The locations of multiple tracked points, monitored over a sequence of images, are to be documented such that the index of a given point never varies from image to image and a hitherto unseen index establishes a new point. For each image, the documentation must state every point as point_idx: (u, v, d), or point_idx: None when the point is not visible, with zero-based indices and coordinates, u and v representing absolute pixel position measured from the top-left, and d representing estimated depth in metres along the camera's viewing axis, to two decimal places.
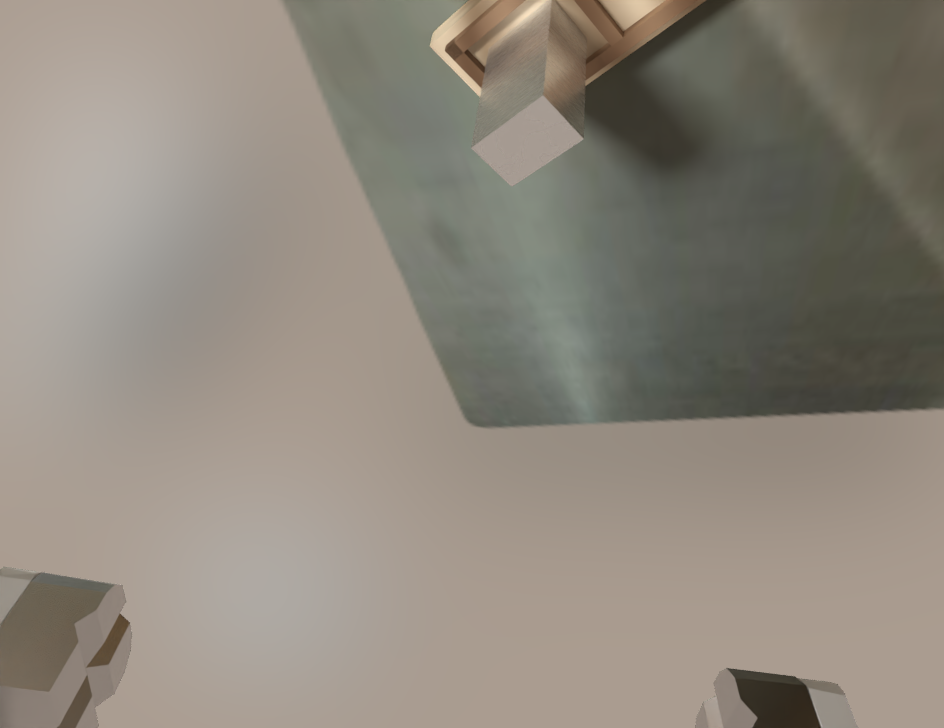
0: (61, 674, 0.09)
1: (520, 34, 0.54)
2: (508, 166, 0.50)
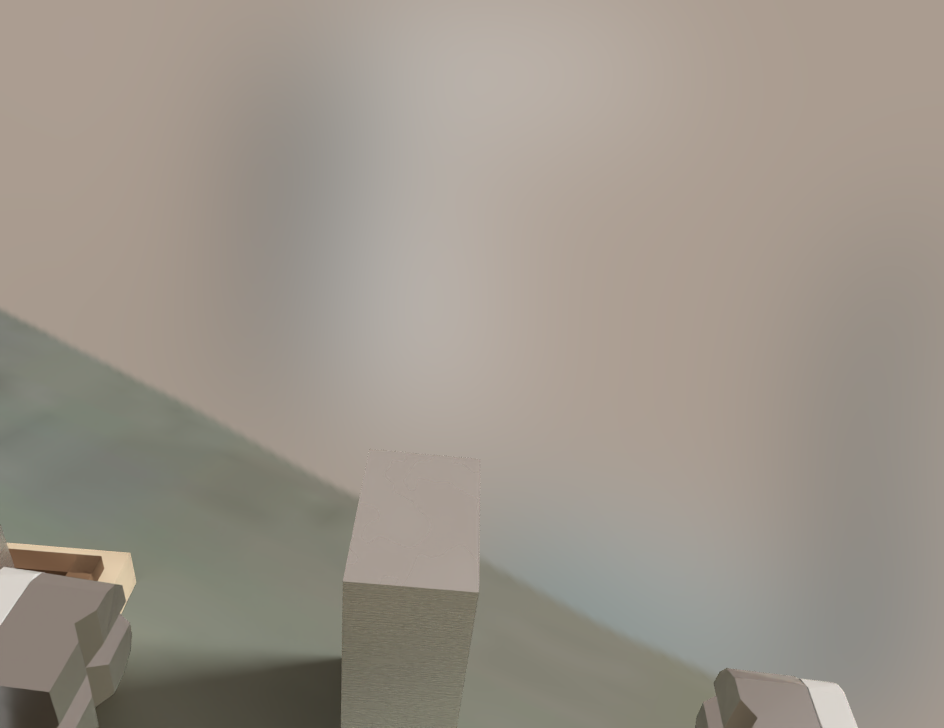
0: (61, 674, 0.09)
1: None
2: None
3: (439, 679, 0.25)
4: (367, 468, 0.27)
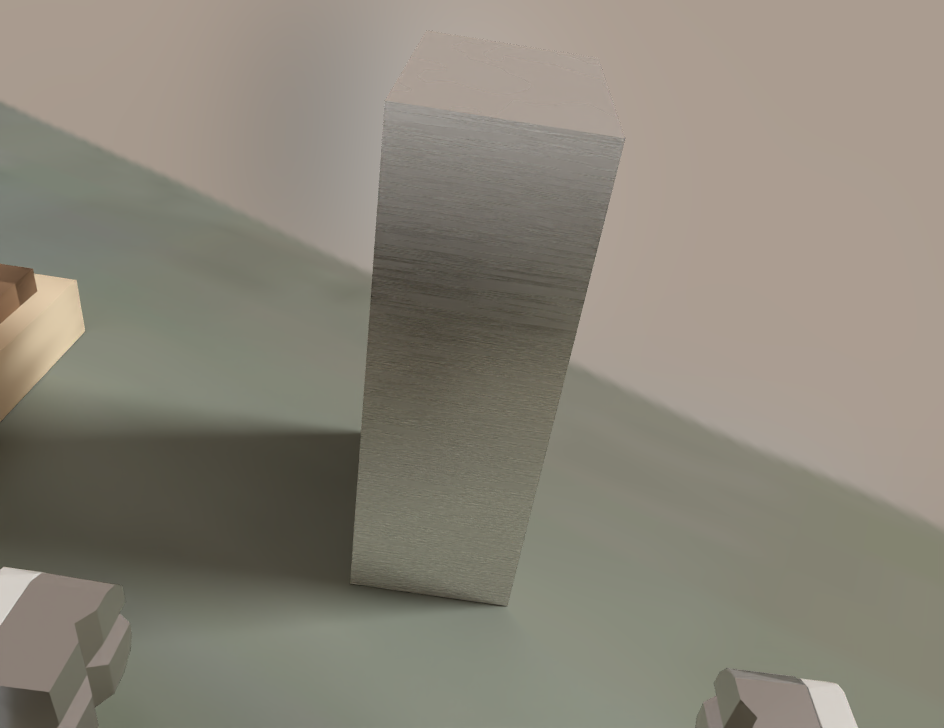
0: (61, 674, 0.09)
1: None
2: None
3: (528, 351, 0.15)
4: (424, 40, 0.17)
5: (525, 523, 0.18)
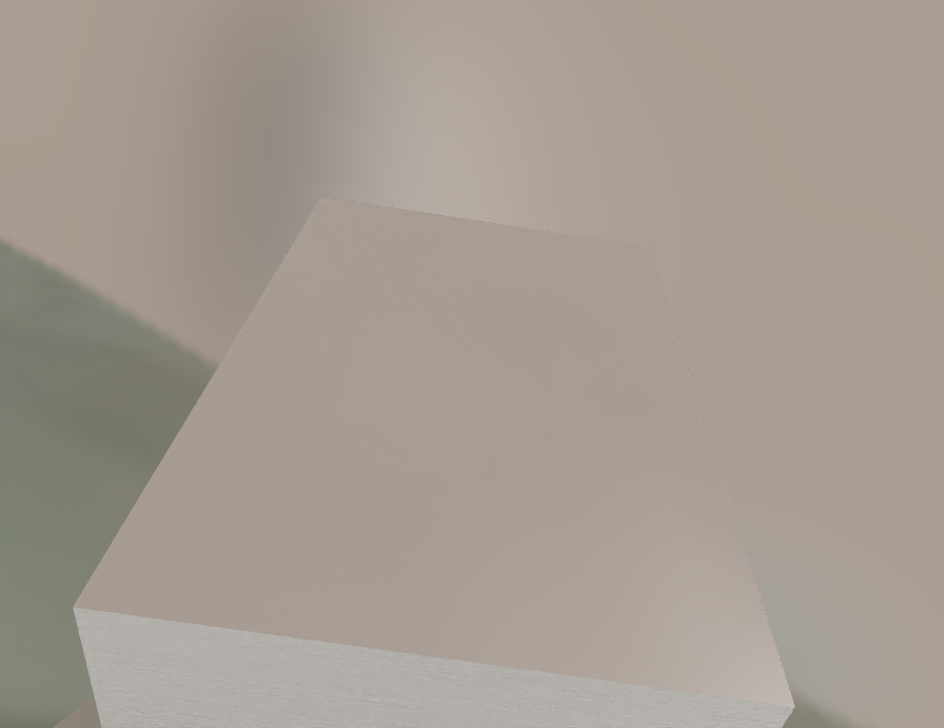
0: None
1: None
2: None
3: None
4: (306, 233, 0.08)
5: None
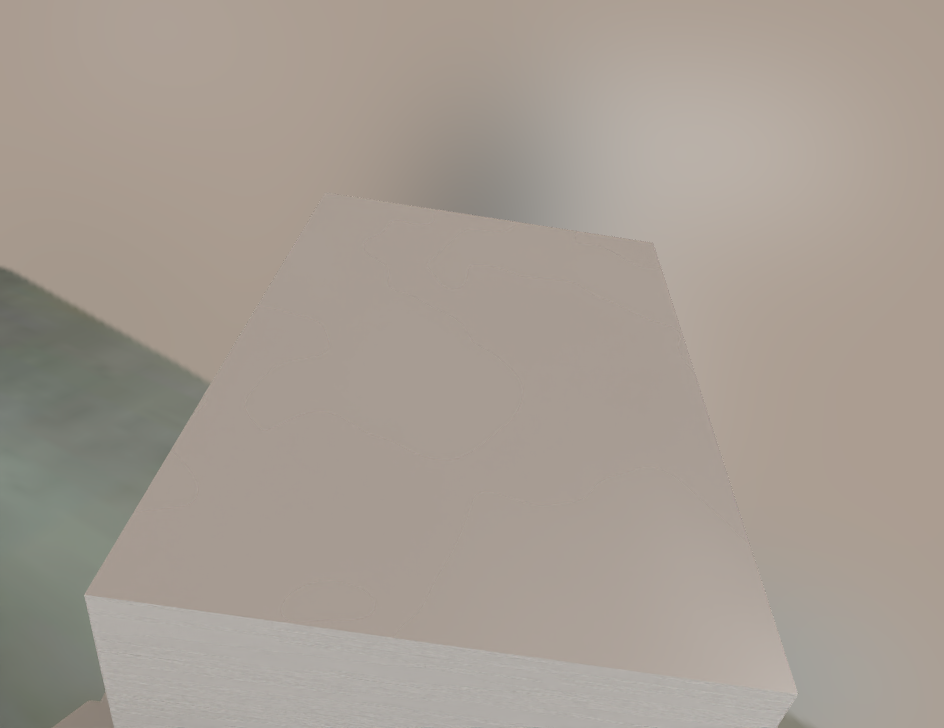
0: None
1: None
2: None
3: None
4: (311, 228, 0.08)
5: None
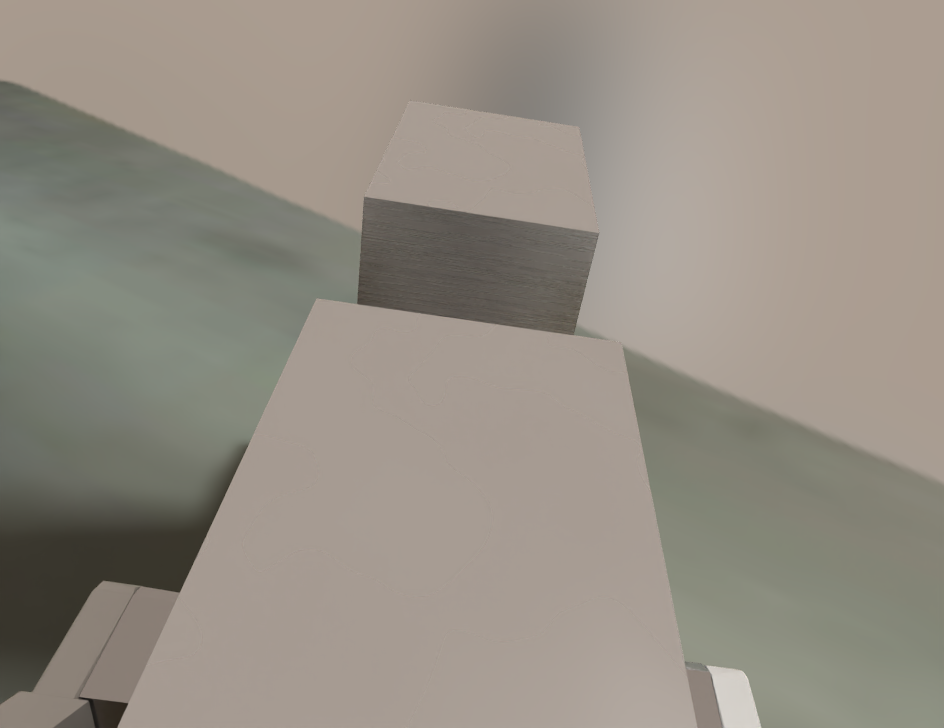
0: None
1: None
2: (466, 121, 0.17)
3: None
4: (303, 341, 0.09)
5: None
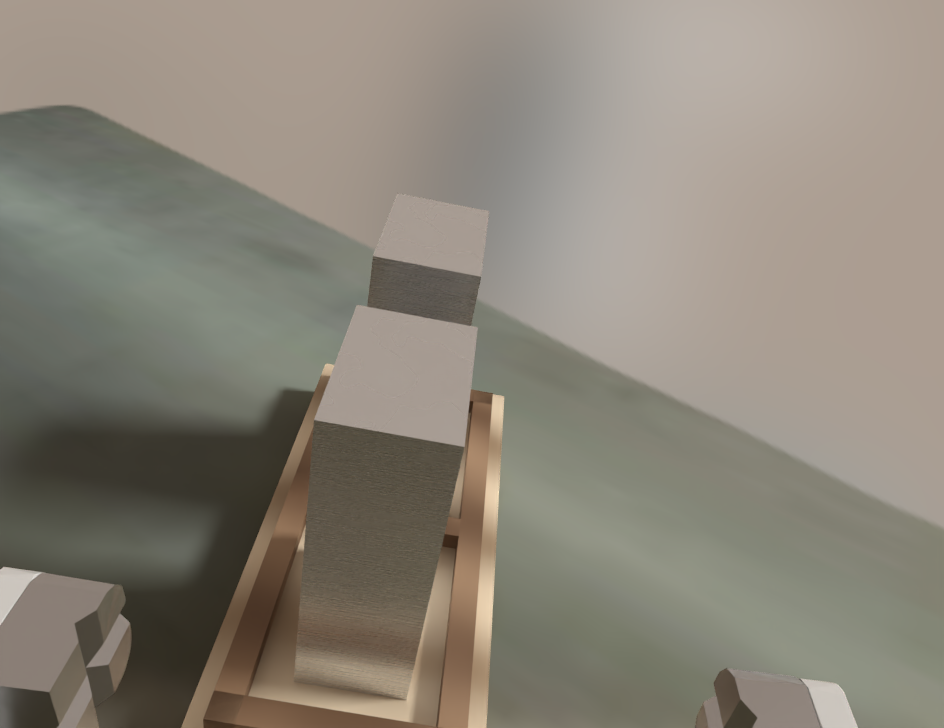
0: (60, 674, 0.09)
1: None
2: (426, 208, 0.32)
3: (411, 552, 0.23)
4: (353, 321, 0.24)
5: (416, 650, 0.25)
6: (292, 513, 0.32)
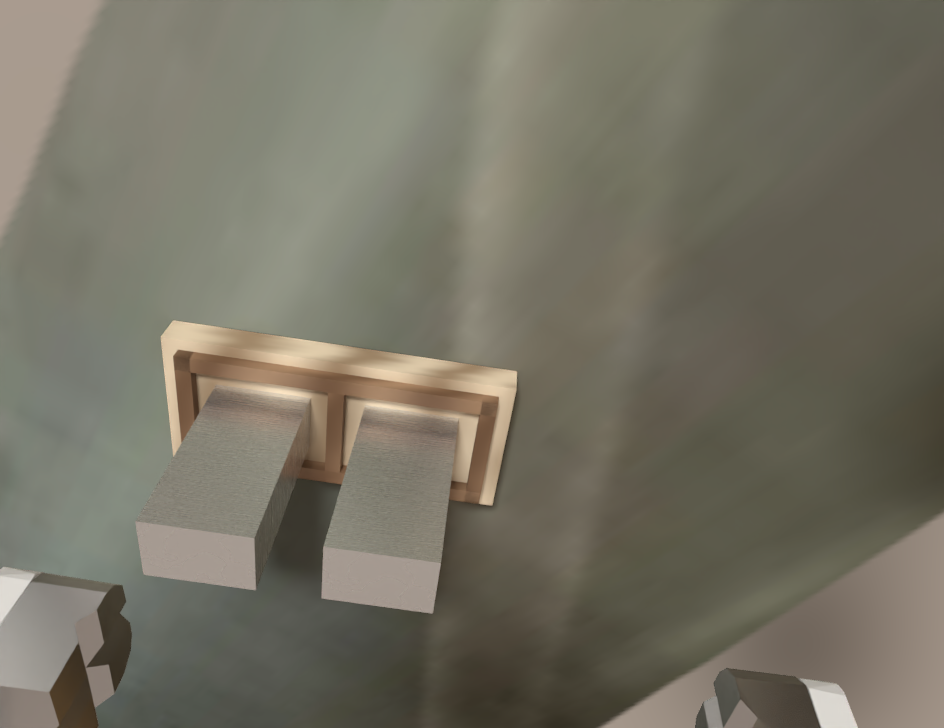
0: (61, 674, 0.09)
1: (259, 409, 0.47)
2: (158, 559, 0.40)
3: None
4: (340, 599, 0.41)
5: (454, 448, 0.46)
6: None
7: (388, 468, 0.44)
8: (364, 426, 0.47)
